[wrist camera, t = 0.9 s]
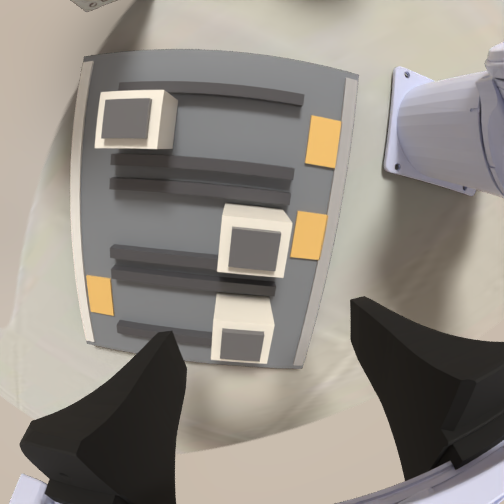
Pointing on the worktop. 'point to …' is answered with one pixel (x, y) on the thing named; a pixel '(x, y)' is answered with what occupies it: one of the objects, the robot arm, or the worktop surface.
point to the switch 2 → (242, 328)
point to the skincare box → (91, 4)
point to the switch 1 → (136, 119)
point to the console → (207, 195)
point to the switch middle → (254, 240)
